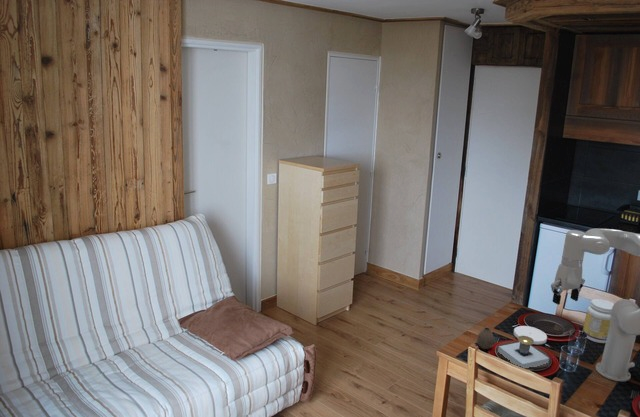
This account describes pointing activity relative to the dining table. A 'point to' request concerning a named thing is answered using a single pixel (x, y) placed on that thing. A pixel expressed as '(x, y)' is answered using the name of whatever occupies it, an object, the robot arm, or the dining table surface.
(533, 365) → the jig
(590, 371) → the dining table surface
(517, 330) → the plastic lid
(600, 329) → the supplement tub
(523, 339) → the gold lidded jar
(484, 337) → the vase
